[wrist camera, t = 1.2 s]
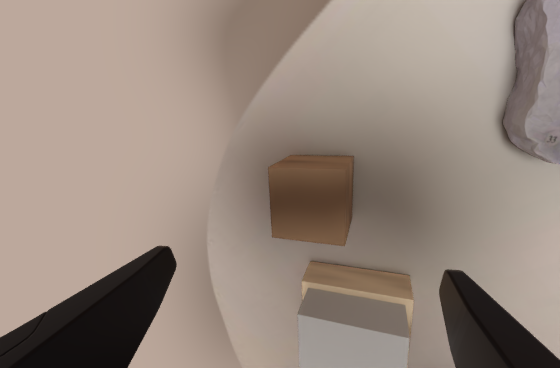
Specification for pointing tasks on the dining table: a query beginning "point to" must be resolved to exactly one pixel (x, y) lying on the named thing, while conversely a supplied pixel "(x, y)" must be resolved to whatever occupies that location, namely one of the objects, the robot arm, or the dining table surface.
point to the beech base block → (361, 284)
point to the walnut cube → (312, 198)
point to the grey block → (351, 332)
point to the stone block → (536, 82)
